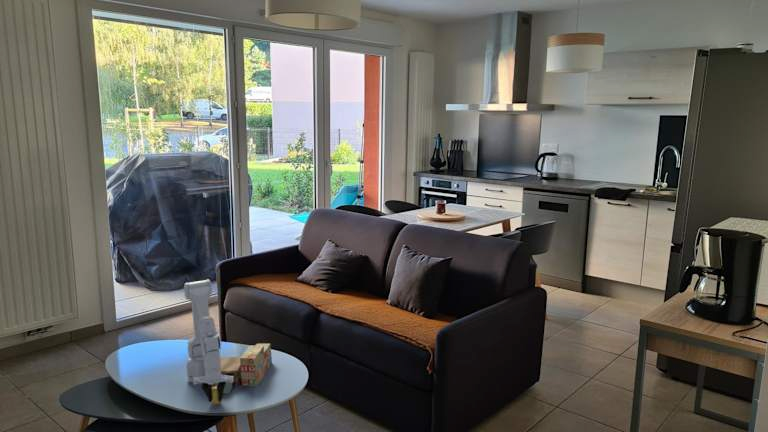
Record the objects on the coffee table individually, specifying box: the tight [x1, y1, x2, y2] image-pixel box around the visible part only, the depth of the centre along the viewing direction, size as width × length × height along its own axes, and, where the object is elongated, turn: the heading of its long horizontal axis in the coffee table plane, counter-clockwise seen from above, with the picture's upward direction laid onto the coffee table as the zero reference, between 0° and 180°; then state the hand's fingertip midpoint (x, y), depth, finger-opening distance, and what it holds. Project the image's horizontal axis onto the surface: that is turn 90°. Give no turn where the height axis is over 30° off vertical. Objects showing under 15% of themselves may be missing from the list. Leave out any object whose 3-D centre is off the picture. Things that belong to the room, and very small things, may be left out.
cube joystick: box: [211, 382, 233, 406], centre depth 208 cm, size 5×14×6 cm, turn 0°
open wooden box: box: [212, 356, 242, 387], centre depth 221 cm, size 11×13×7 cm
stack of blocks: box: [239, 343, 273, 387], centre depth 225 cm, size 21×6×12 cm, turn 175°
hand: (215, 400), depth 202 cm, fingers closed on cube joystick, 3 cm apart
